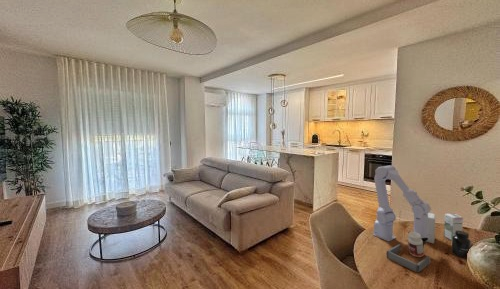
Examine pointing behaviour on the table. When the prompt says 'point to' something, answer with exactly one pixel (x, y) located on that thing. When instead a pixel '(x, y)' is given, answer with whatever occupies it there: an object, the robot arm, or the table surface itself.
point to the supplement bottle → (461, 244)
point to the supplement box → (431, 227)
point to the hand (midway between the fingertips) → (419, 249)
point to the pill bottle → (415, 244)
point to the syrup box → (452, 225)
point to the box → (411, 265)
